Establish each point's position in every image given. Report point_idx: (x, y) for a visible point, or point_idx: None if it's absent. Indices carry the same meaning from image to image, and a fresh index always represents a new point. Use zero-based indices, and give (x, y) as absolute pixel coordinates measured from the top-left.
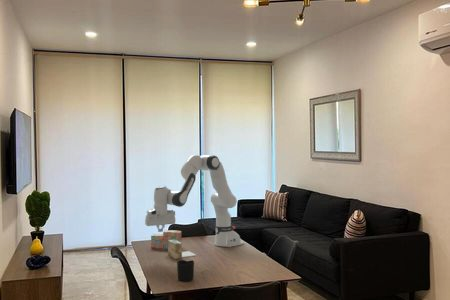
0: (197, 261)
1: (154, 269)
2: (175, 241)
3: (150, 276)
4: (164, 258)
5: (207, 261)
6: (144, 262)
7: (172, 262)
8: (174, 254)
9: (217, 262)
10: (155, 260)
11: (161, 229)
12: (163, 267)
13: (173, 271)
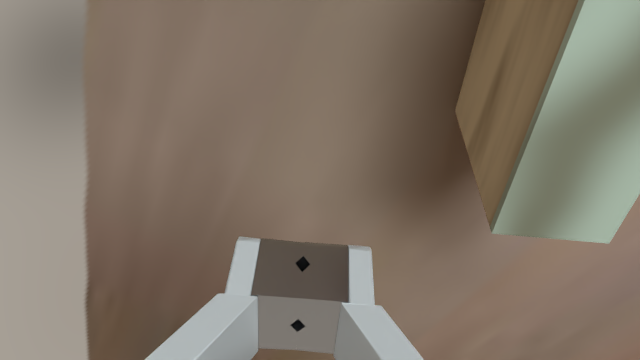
0: (551, 275)
1: (149, 272)
2: (630, 113)
3: (95, 352)
4: (366, 32)
5: (608, 308)
6: (97, 59)
7: (358, 201)
8: (466, 128)
9: (634, 351)
10: (236, 52)
11: (314, 342)
12: (228, 267)
13: (258, 349)
